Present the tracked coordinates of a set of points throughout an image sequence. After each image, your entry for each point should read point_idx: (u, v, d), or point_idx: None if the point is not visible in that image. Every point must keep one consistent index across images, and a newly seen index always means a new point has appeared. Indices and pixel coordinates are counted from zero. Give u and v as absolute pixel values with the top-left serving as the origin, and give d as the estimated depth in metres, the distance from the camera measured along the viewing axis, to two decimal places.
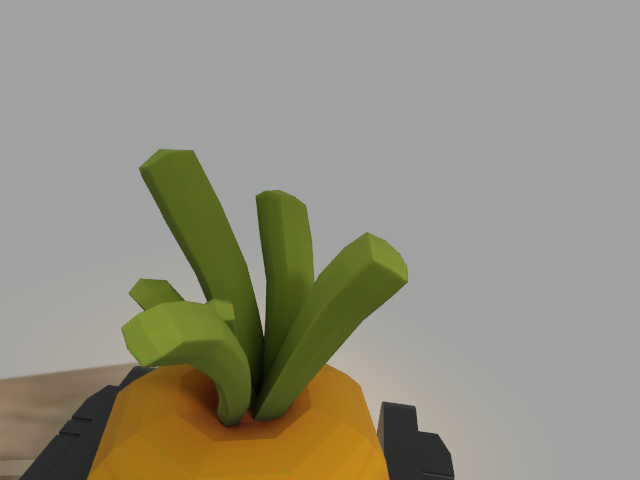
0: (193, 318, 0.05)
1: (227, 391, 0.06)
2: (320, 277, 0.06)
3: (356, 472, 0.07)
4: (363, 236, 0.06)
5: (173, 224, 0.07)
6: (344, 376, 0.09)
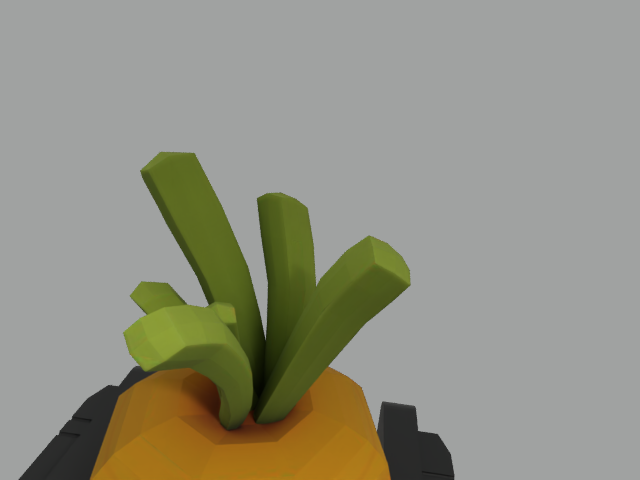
0: (195, 322, 0.05)
1: (229, 394, 0.06)
2: (322, 280, 0.06)
3: (358, 475, 0.07)
4: (365, 239, 0.06)
5: (174, 227, 0.07)
6: (346, 378, 0.09)
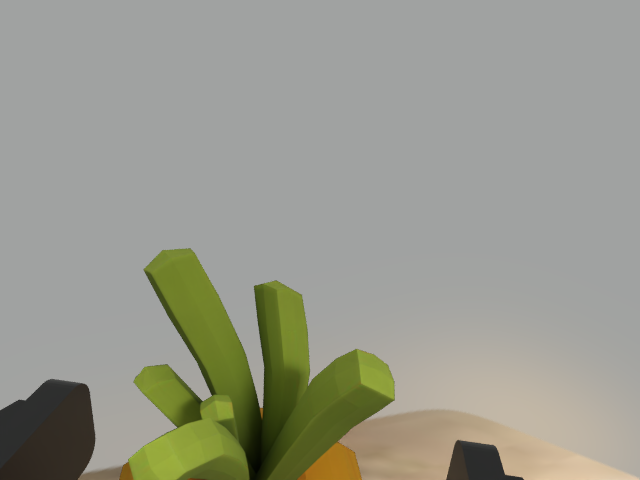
0: (194, 442, 0.05)
1: None
2: (313, 382, 0.06)
3: None
4: (353, 352, 0.06)
5: (176, 321, 0.07)
6: (339, 447, 0.09)
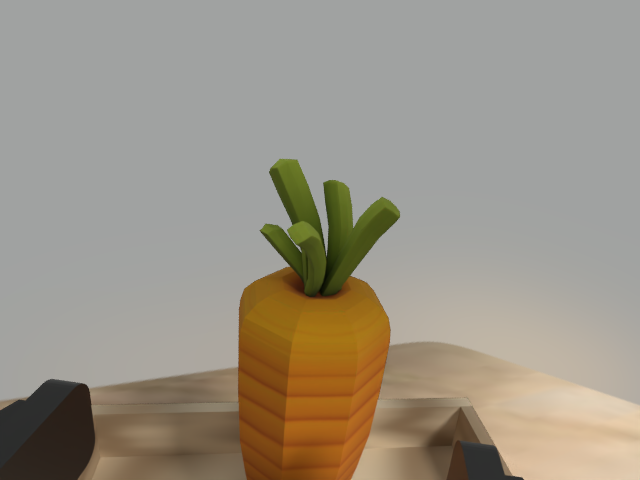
0: (312, 229, 0.12)
1: (315, 272, 0.13)
2: (360, 218, 0.13)
3: (374, 318, 0.14)
4: (380, 198, 0.13)
5: (286, 195, 0.14)
6: (365, 283, 0.16)
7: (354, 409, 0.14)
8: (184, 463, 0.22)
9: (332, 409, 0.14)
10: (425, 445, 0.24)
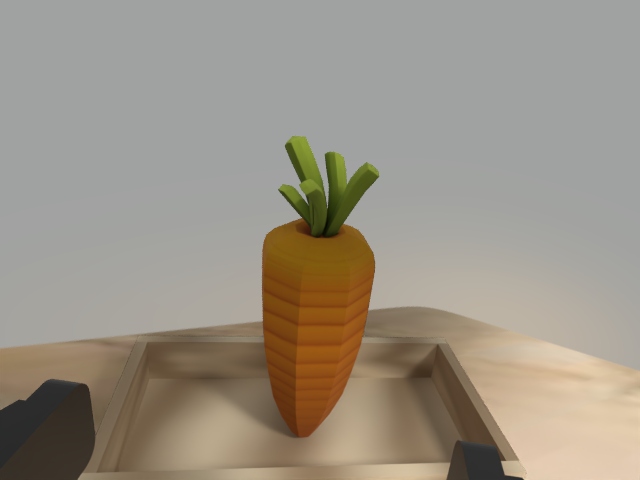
0: (316, 184, 0.17)
1: (319, 217, 0.19)
2: (351, 178, 0.18)
3: (362, 252, 0.19)
4: (365, 163, 0.18)
5: (297, 163, 0.19)
6: (357, 230, 0.21)
7: (348, 318, 0.19)
8: (216, 384, 0.27)
9: (332, 318, 0.19)
10: (409, 376, 0.29)
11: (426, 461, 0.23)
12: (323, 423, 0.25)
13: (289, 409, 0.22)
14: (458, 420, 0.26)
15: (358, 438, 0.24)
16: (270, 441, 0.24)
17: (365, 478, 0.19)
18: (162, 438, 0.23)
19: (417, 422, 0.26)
